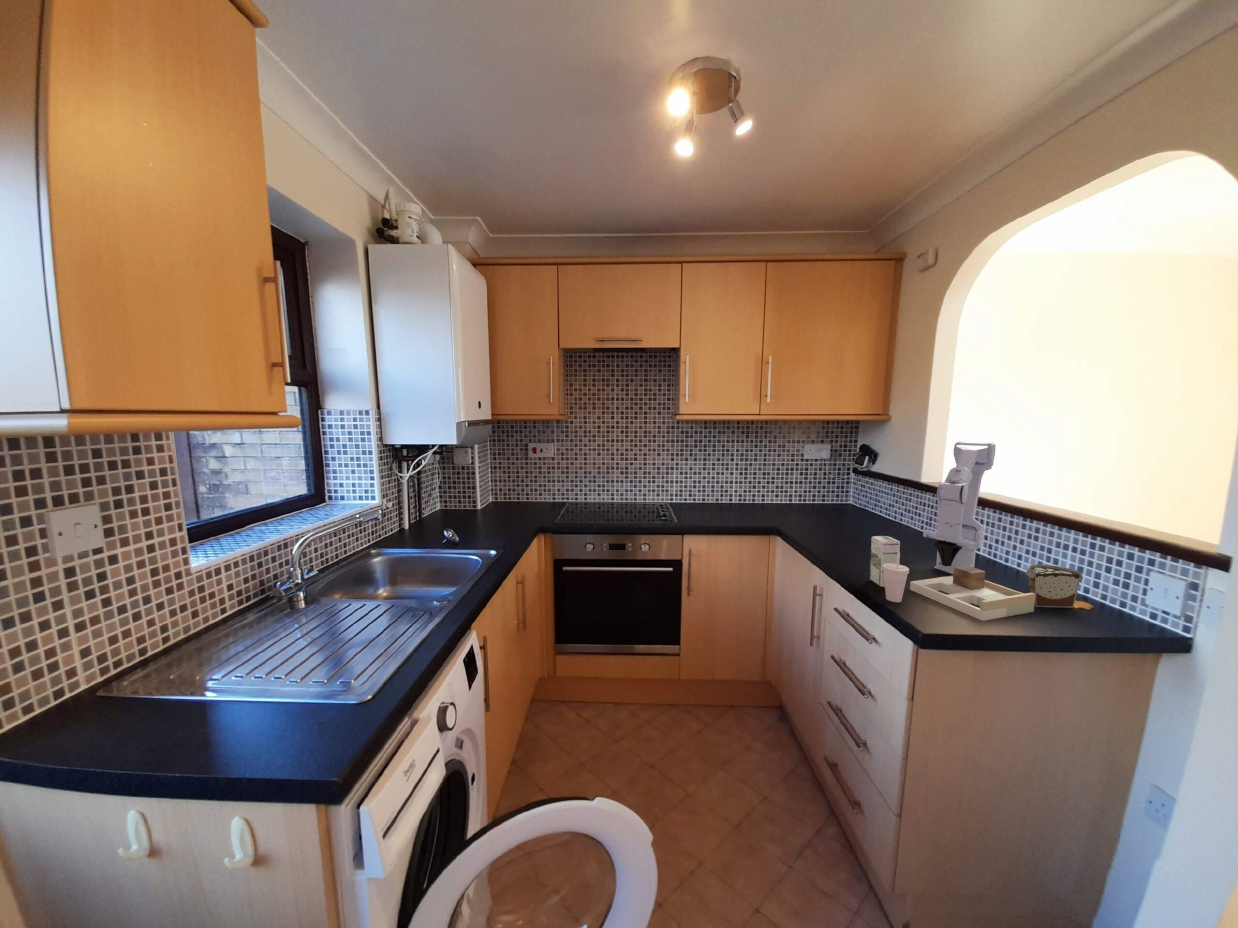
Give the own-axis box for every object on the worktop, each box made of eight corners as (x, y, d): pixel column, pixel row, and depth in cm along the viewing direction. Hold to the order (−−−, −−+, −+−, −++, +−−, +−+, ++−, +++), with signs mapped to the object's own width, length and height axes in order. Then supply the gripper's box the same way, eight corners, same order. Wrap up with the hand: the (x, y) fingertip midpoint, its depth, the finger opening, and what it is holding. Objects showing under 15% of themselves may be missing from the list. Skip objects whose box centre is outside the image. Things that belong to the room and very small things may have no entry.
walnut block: (952, 583, 122) (953, 567, 121) (965, 581, 123) (966, 565, 123) (970, 590, 117) (972, 573, 117) (983, 588, 118) (985, 571, 118)
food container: (1057, 597, 117) (1061, 563, 116) (1079, 607, 111) (1083, 572, 110) (1010, 596, 118) (1013, 563, 117) (1029, 606, 112) (1033, 571, 111)
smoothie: (911, 605, 114) (915, 556, 112) (886, 603, 115) (889, 555, 114) (900, 595, 120) (903, 549, 119) (876, 593, 121) (879, 548, 120)
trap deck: (909, 589, 124) (910, 573, 124) (955, 582, 128) (957, 567, 128) (982, 620, 105) (984, 602, 104) (1033, 611, 109) (1035, 593, 109)
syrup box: (898, 586, 126) (901, 541, 124) (879, 587, 126) (881, 541, 125) (887, 579, 132) (889, 535, 130) (868, 579, 132) (870, 535, 130)
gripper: (916, 517, 130) (913, 558, 132) (964, 529, 116) (961, 575, 118) (934, 516, 132) (931, 556, 134) (983, 527, 118) (979, 572, 120)
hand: (946, 565), depth 126 cm, fingers closed
